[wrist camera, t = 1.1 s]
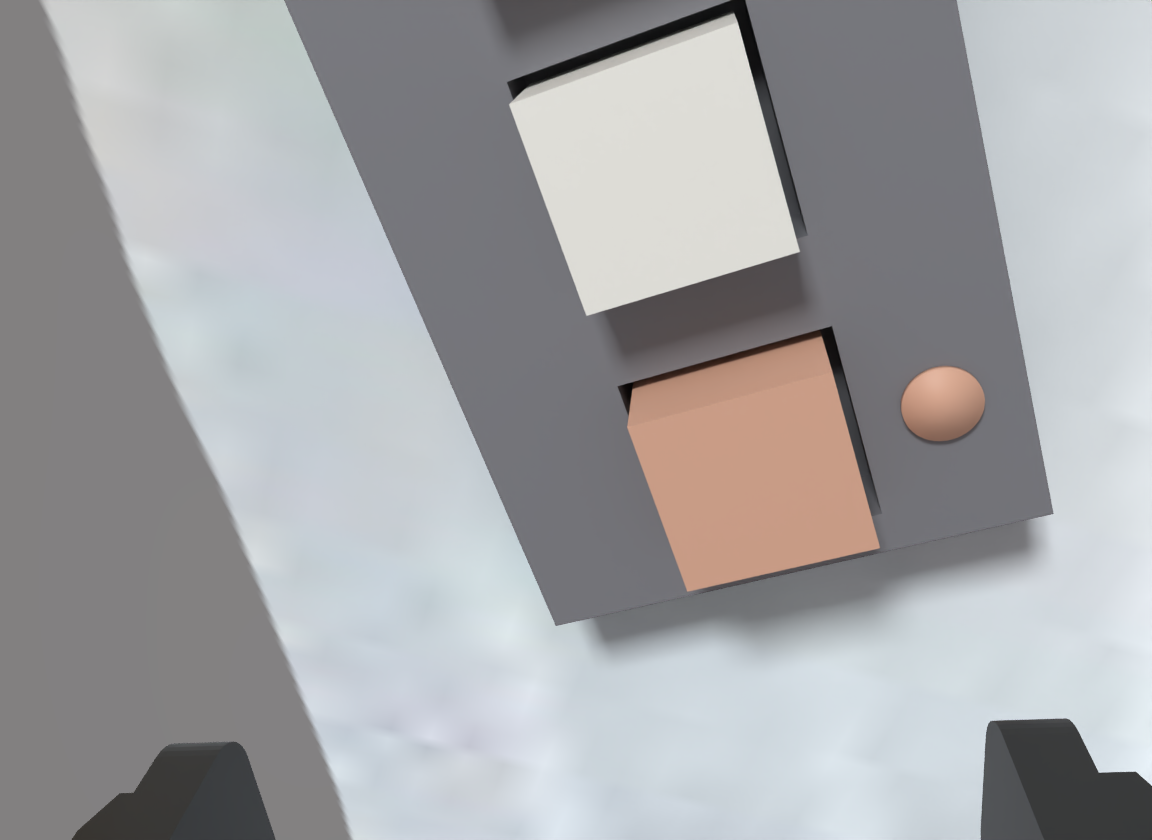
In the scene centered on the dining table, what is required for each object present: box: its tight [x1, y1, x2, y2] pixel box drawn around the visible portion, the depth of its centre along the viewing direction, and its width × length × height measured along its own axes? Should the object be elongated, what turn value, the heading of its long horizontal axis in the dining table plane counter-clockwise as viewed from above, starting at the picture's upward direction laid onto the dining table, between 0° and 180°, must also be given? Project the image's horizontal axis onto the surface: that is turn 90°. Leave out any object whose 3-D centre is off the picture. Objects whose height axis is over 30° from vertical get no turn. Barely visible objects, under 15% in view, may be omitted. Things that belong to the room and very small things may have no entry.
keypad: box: [284, 0, 1053, 626], centre depth 25 cm, size 14×24×3 cm, turn 20°
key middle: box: [509, 11, 800, 316], centre depth 24 cm, size 5×5×3 cm
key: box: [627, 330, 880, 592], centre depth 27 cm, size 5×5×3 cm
